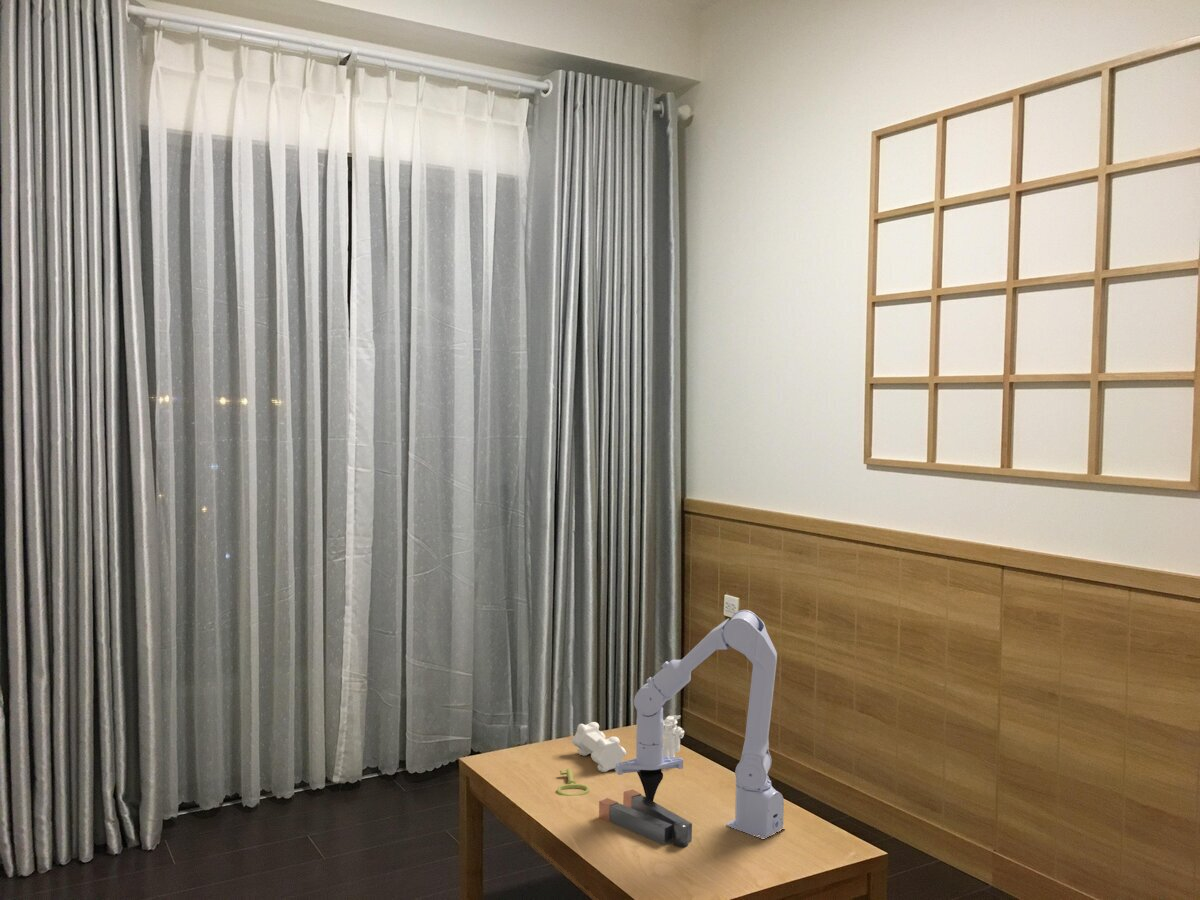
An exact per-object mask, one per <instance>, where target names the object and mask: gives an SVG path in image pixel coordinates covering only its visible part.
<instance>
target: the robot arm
mask: <svg viewBox="0 0 1200 900" xmlns="http://www.w3.org/2000/svg"><path fill="white" fill-rule="evenodd" d="M730 647H731V648H732V649H734V650H735V651H737V652H740V653H741V654H743V655H744V656H745V657H746V658H747V659H748V660H749V662H750V663H751V664H752V672H751V680H750V689H749V699H748V708H747V717H746V725H745V726H746V727H745V734H744V736H745V737H744V743H743V746H742V752H741V758H740V761H739V762H738V763H737V765H736V766H735V771H734V775H735V802H734V803H735V811H734V812H735V813H734V814H735V815H734V816H735V817H734V819H733V820H731V821H728V822H726V827H728V828H730V827H731V828H730V829H733V828H734V829H733V830H736V829H737V830H736V831H738V830H740V831H739V832H741V831H743V832H746V833H748V834H747V835H749V834H751V835H755V836H758V835H760V836H758V837H760V838H766V837H768V836H770V835H772V834H773V833H775V832H777V831H779V830H780V829H782V828H783V825H784V816H785V815H784V813H785V811H784V807H785V804H784V803H785V801H784V796H783V794H782V793H781V792H779V791H777V790H776V789H775V788H774V787H773V786H772V780H770V779H771V778H770V777H769V775H768V773H769V771H770V769H771V766H772V763H773V762H772V756H771V754H770V750H769V749H770V748H769V747H770V746H769V745H770V742H769V741H770V740H769V735H770V734H769V733H770V725H771V718H772V717H771V716H772V710H773V709H772V708H773V698H774V690H775V681H776V680H775V679H776V672H777V662H778V652H777V650H776V648H775V645H774V643H773V642H772V640H771V637H770V636H769V633H768V631H767V628H766V625H765V622H764V621H763V620H762V619H761V618H760V617H759V616H758V615H757V614H756V613H754V612H753V611H751V610H749V609H741V610H737V611H736V612H735V613H734V614H733V615H732V616H731V618H727V619H726V620H723V621H722V622H721V623H719V625H717V626H716V627H714V628H713V629H712V630H710V631H709V632H708V633H707V635H705V636H704V637H703V638H702V639H701V640H700V642H698V644H696V645H695V646H694V647H693V648H692V649H691V650H690V651H689V652H688V653H687V654H686V655H685V656H684V657H683V658H682V659H671V660H670V661H667V660H666V661H665V662H663V663H662V665H661V669H660V670H659V671H658V672H657V673H656V674H655V675H653V677H651V676H649V678H647V679H646V683H645V684H643V685H642V686H641V688H639V689H638V691H637V692H636V693H635V695H634V699H633V705H634V708H635V710H636V733H635V734H636V739H635V740H636V741H635V742H636V743H635V744H636V746H635V747H636V748H635V749H636V751H635V754H636V758H632V759H628V760H625V761H621V762H618V763H616V770H615V773H616V774H617V775H619V776H620V775H624V774H628V773H637V776H638V778H639V780H640V783H641V785H642V788H643V792H644V797H646V798H648V799H650V800H652V801H653V802H654V799H655V795H656V792H657V790H658V788H659V785H660V784H661V782H662V781H663V778H664V773H663V772H662V770H671V769H678V770H683V769H684V758H682V757H681V756H675V757H663V747H664V738H663V721H664V707H663V706H664V705H665V703H666V702H667V701H670V700H671V699H672V698H673V697H674V696H676V695H677V693H679V692H680V691H681V690H682V689H683V688H684V687H686V685H687V684H689V683H690V682H691V680H692V678H691V677H692V671H693V670H695V669H696V668H697V667H698V666H699V665H701V663H703V662H704V661H705V660H706V659H708V657H710V656H711V655H712V654H713V653H714V652H716V651H718V650H723V651H725V650H728V649H729V648H730ZM743 832H742V833H743ZM746 833H745V834H746ZM751 835H750V836H751Z"/></svg>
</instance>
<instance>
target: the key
mask: <svg viewBox="0 0 1200 900" xmlns="http://www.w3.org/2000/svg"><path fill="white" fill-rule="evenodd" d="M559 773H560V775H566V776H567V784H562V785H560V786H558V787H557V789H556V793H557V794H559V795H560V796H561V795H562V796H566V797H567V796H569V797H571V796H572V797H575V796H583V795H587V794H589V793H590V787H589V786H588V785H586V784H583V783H577V782H576V781H575V780H574V778H573V773H572V769H571V768H567V769H566V770H560V771H559ZM570 789H582V790H584V791H581V792H578V793H577V792H576V793H569V792H564V791H563V790H570Z"/></svg>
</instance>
